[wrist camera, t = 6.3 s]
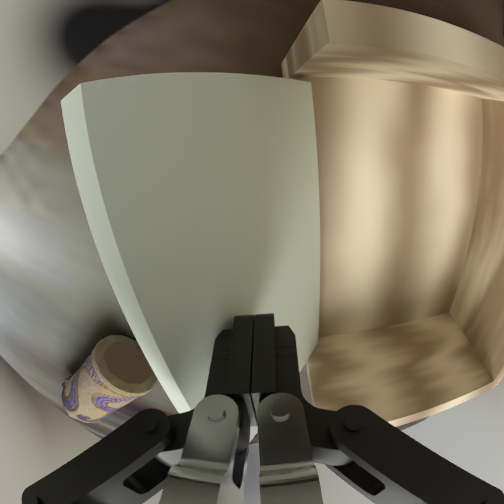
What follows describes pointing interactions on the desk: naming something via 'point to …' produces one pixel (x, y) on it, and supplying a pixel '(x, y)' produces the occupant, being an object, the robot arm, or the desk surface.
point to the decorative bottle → (108, 379)
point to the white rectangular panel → (200, 209)
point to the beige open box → (405, 209)
